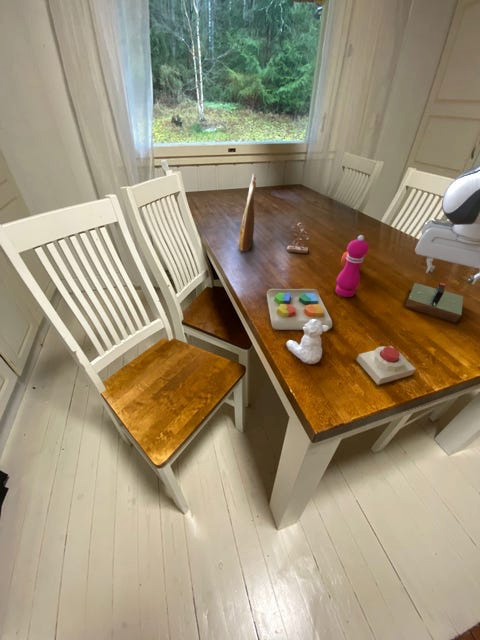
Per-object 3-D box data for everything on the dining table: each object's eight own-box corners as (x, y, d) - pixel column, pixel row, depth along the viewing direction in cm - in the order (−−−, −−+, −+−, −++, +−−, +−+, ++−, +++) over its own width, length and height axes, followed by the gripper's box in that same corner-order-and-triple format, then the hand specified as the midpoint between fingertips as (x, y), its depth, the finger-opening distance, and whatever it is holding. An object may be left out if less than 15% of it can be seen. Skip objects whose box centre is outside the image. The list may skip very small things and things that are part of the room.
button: (389, 350, 66) (392, 345, 65) (400, 361, 64) (403, 355, 63) (377, 353, 65) (379, 348, 64) (387, 364, 63) (390, 359, 62)
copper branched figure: (307, 249, 120) (312, 222, 112) (307, 253, 117) (312, 225, 109) (287, 247, 121) (290, 220, 114) (286, 251, 118) (290, 223, 111)
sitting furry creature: (318, 341, 74) (328, 305, 66) (331, 365, 67) (344, 328, 60) (285, 345, 73) (290, 308, 65) (295, 369, 66) (302, 332, 58)
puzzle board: (317, 294, 92) (319, 285, 90) (332, 330, 77) (335, 321, 75) (266, 293, 92) (266, 284, 90) (271, 330, 77) (272, 320, 75)
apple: (361, 274, 103) (368, 254, 98) (339, 272, 104) (345, 252, 99) (359, 264, 109) (365, 245, 104) (338, 262, 110) (343, 244, 105)
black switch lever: (438, 302, 83) (444, 292, 81) (432, 300, 84) (438, 290, 82) (440, 293, 87) (445, 283, 85) (434, 292, 88) (440, 282, 86)
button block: (388, 351, 71) (394, 340, 68) (412, 374, 65) (419, 363, 63) (356, 360, 69) (360, 349, 66) (377, 384, 63) (383, 373, 60)
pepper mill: (329, 289, 94) (343, 232, 82) (345, 284, 97) (362, 229, 84) (343, 300, 89) (361, 241, 77) (360, 295, 92) (380, 237, 79)
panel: (458, 303, 88) (463, 295, 86) (456, 322, 81) (461, 314, 79) (411, 290, 95) (415, 282, 93) (404, 306, 87) (408, 298, 85)
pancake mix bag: (257, 237, 130) (260, 171, 113) (251, 254, 115) (255, 182, 98) (243, 236, 131) (244, 170, 113) (236, 253, 116) (236, 181, 99)
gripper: (425, 220, 67) (403, 271, 75) (534, 239, 57) (495, 295, 66) (429, 214, 71) (408, 262, 79) (531, 231, 61) (495, 284, 70)
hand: (448, 277), depth 72 cm, fingers open, 8 cm apart
